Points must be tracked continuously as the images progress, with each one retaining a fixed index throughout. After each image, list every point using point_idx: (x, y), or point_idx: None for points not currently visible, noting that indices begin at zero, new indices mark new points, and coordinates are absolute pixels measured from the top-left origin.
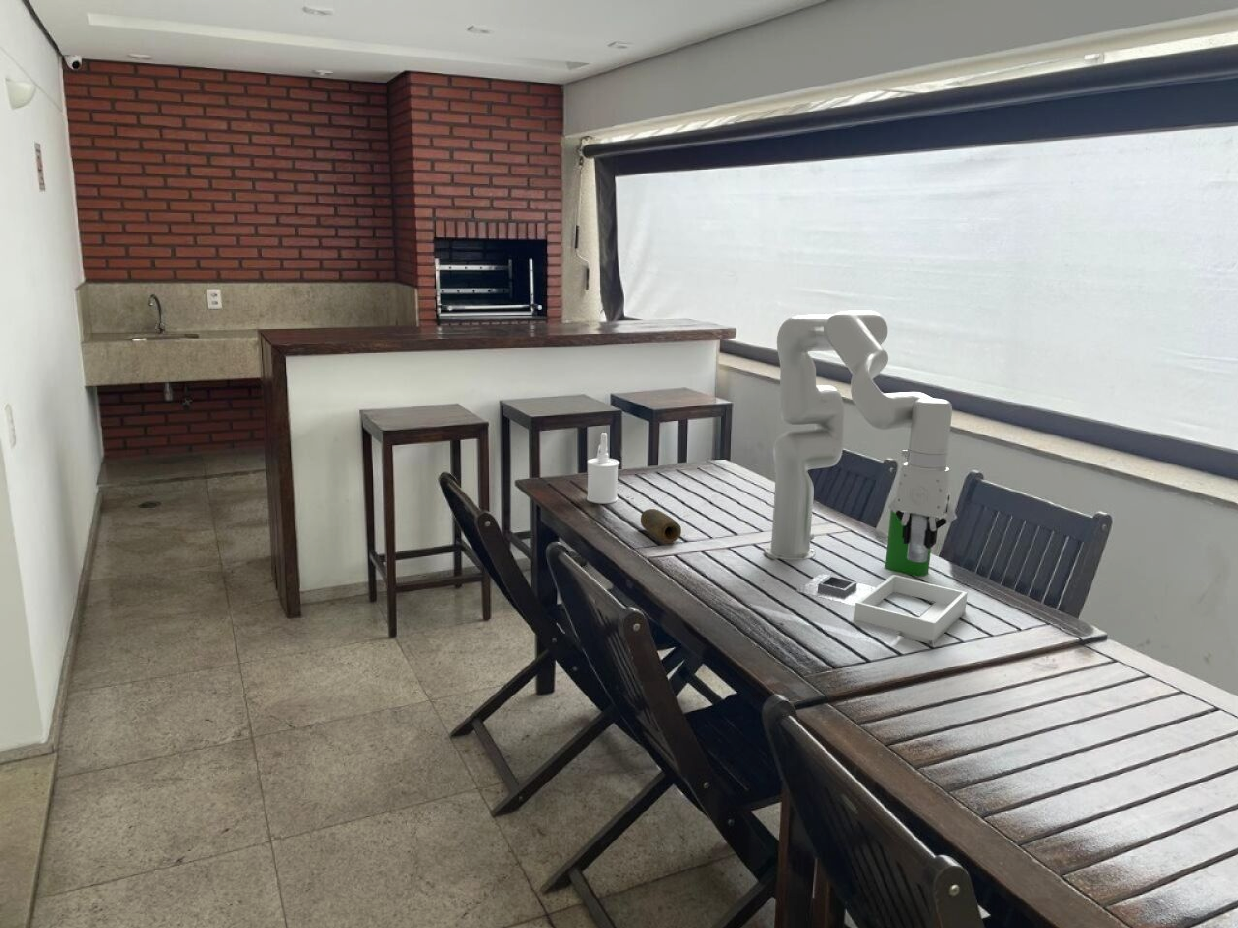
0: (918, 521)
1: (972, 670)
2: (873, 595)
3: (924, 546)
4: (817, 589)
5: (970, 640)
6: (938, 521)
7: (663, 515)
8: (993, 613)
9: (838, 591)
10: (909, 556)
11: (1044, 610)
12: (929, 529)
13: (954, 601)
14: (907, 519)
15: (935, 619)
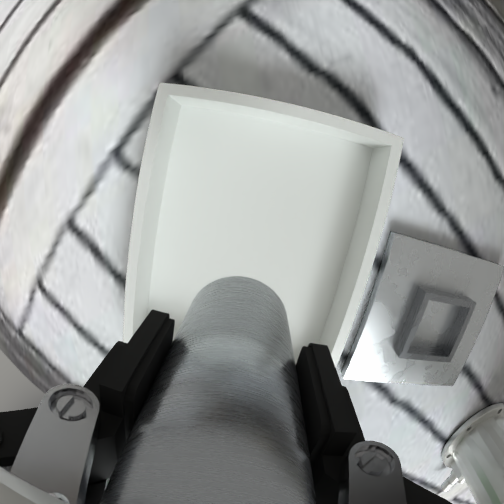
0: (217, 470)
1: (97, 24)
2: (362, 249)
3: (182, 328)
4: (469, 297)
5: (101, 170)
6: (11, 452)
7: None
8: (93, 350)
9: (435, 292)
10: (274, 299)
11: (42, 386)
12: (121, 418)
13: (132, 287)
14: (354, 490)
15: (160, 112)
